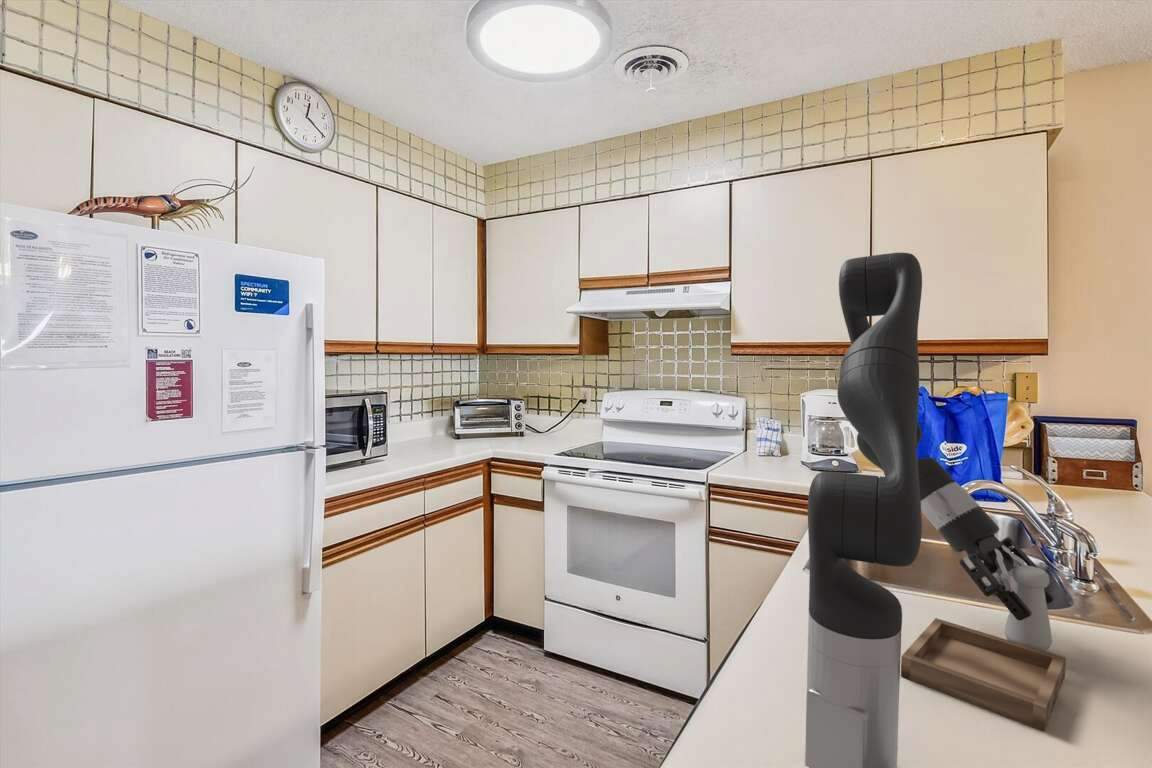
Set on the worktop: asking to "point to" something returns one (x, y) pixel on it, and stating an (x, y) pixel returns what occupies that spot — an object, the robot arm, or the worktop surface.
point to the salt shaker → (1031, 609)
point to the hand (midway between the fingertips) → (1037, 610)
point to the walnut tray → (986, 671)
